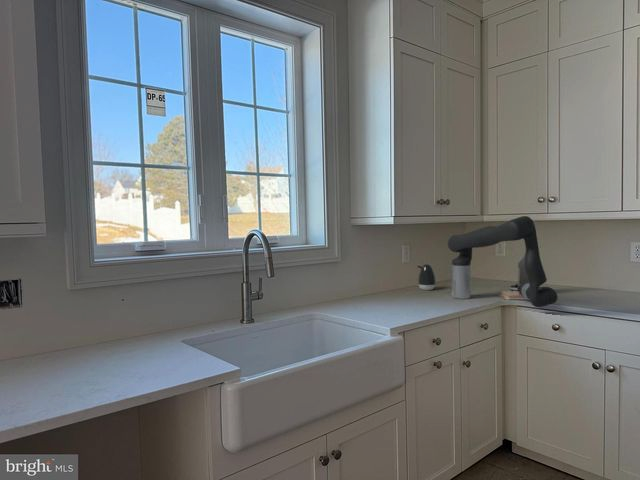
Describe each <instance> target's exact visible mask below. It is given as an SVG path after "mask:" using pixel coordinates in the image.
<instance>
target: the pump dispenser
mask: <svg viewBox="0 0 640 480" xmlns="http://www.w3.org/2000/svg"><path fill="white" fill-rule="evenodd" d="M417 268H419V269H420V271H419V275H418V278H417V279H418V281H417V284H418V286H419V288H420V289H421V290H422V291H433V289H435V286H436V283H437V282H436V274H435V272H434V269H433V267H432V266H431V265H430V264H428V263H425V264H423V265H422V266H421V265H417Z"/></svg>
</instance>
